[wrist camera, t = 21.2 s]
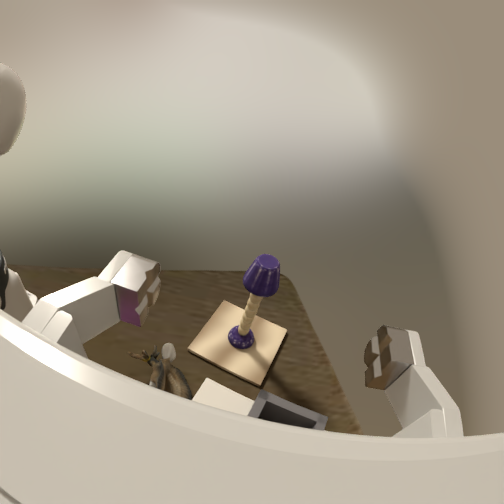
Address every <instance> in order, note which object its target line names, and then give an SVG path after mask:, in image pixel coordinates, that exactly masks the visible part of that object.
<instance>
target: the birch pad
mask: <svg viewBox="0 0 504 504" xmlns="http://www.w3.org/2000/svg"><path fill="white" fill-rule="evenodd" d="M244 312H245V310H243V309H241V308H239V307H237V306H235V305H233V304H231V303H229V302H227V301H225V300H224V301H223V302H222V304H221V305H220V306H219V308H218V309H217V310H216V312H215V313H214V314H213V316H212V317H211V318H210V320H209V321H208V322H207V324H206V325H205V326H204V327H203V329H202V330H201V331H200V333H199V334H198V335H197V337H196V338H195V339H194V341H193V342H192V343H191V345H190V346H189V347H188V351H190V352H192V353H193V354H195V355H197V356H199V357H201V358H203V359H205V360H206V361H208V362H210V363H212V364H214V365H216V366H218V367H220V368H222V369H224V370H226V371H228V372H230V373H232V374H234V375H236V376H238V377H240V378H242V379H244V380H246V381H248V382H250V383H252V384H254V385H256V386H259V387H260V385H261V383H262V381H263V379H264V377H265V375H266V373H267V371H268V369H269V367H270V365H271V363H272V361H273V359H274V357H275V355H276V352H277V350H278V348H279V346H280V344H281V342H282V340H283V338H284V336H285V334H286V331H287V330H286V329H284V328H282V327H280V326H278V325H275V324H273V323H271V322H269V321H267V320H265V319H262V318H260V317H258V316H256V315H255V318H254V320H253V322H252V325H251V327H250V329H251V330H252V332H253V334H254V343H253V345H252V346H251V347H250V348H247V349H238V348H235V347H234V346H232V345H231V344H230V342H229V340H228V333H229V331H230V330H231V329H232V328H233V327H235V326H238V325H240V322H241V319H242V316H243V313H244Z"/></svg>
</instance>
